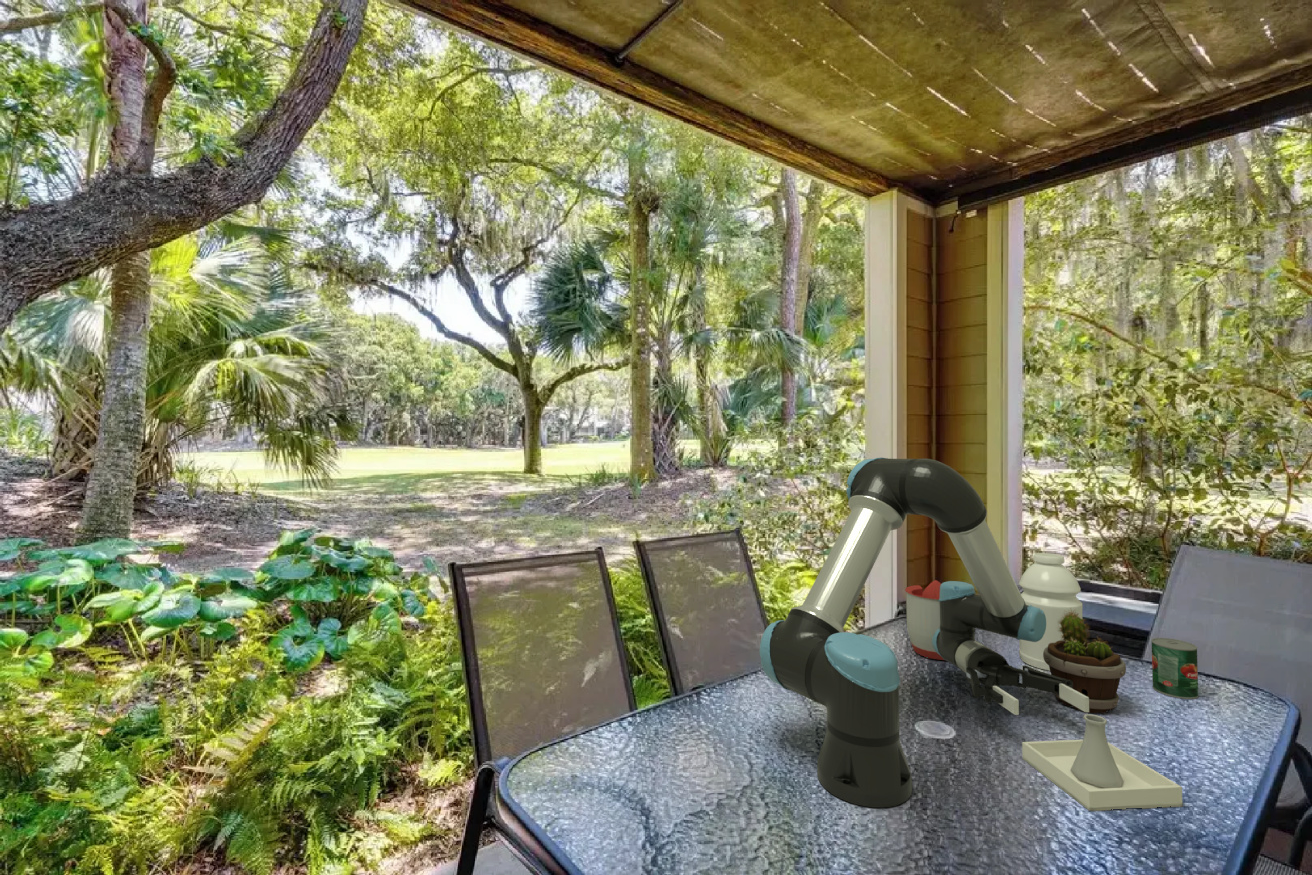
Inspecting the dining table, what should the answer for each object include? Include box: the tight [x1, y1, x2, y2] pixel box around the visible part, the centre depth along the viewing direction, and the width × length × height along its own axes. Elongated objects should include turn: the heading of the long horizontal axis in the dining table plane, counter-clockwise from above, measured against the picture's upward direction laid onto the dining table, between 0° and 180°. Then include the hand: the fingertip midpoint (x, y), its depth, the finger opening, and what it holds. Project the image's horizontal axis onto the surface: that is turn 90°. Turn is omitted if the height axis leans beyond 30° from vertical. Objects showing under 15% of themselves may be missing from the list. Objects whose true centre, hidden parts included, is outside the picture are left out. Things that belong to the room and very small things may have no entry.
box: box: [1021, 739, 1183, 812], centre depth 98 cm, size 15×15×3 cm
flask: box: [1070, 713, 1124, 788], centre depth 98 cm, size 7×7×10 cm
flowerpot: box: [1043, 607, 1127, 714], centre depth 128 cm, size 14×15×20 cm
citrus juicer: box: [904, 579, 945, 661], centre depth 160 cm, size 16×17×20 cm
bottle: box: [1018, 552, 1084, 671], centre depth 151 cm, size 14×14×28 cm
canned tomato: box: [1150, 637, 1199, 700], centre depth 133 cm, size 8×8×11 cm
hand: (1052, 706), depth 108 cm, fingers open, 13 cm apart
